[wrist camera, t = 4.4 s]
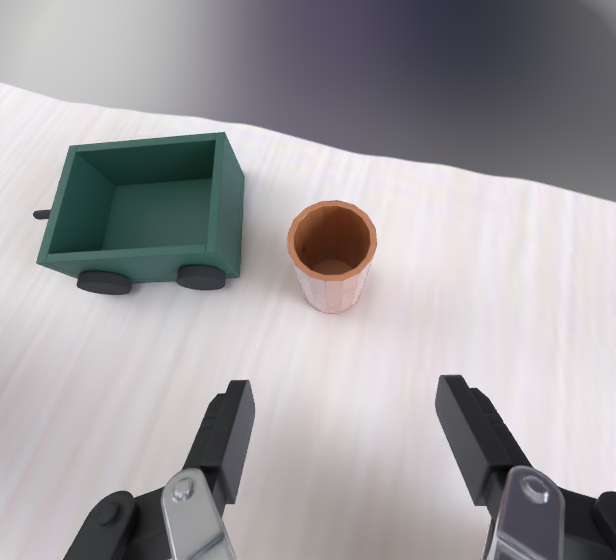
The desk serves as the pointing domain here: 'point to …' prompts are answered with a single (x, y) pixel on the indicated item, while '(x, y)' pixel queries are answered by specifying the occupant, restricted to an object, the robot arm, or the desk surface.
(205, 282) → the cart wheels
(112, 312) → the desk surface
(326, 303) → the orange cup
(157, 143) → the cart
